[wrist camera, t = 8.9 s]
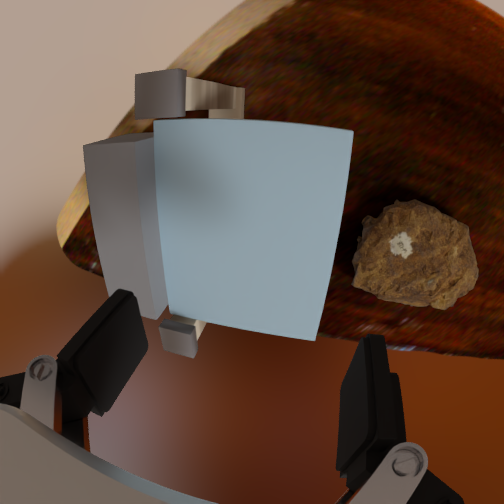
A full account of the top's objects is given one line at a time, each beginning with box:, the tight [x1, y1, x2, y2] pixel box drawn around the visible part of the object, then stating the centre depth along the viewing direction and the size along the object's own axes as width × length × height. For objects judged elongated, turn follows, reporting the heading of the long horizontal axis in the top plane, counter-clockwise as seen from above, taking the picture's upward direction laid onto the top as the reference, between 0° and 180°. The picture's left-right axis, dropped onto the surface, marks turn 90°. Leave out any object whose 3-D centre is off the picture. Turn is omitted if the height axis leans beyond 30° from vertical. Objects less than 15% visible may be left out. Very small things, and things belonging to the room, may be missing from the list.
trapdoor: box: [83, 118, 353, 341], centre depth 18 cm, size 15×14×5 cm
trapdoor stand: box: [135, 69, 245, 358], centre depth 22 cm, size 3×20×13 cm, turn 178°
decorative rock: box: [351, 199, 478, 310], centre depth 25 cm, size 11×4×15 cm
